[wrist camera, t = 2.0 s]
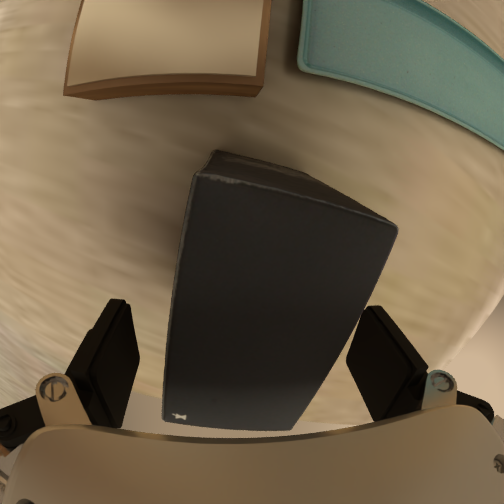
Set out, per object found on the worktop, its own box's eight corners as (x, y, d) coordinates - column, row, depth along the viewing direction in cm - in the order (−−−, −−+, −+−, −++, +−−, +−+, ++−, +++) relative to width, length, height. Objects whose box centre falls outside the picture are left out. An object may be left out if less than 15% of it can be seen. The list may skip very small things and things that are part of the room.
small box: (268, 313, 21) (295, 436, 11) (181, 298, 20) (155, 424, 10) (314, 173, 17) (413, 230, 7) (210, 147, 16) (181, 167, 6)
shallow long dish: (523, 89, 14) (538, 91, 12) (519, 166, 17) (535, 172, 15) (296, -30, 11) (305, -46, 9) (286, 78, 15) (295, 69, 12)
